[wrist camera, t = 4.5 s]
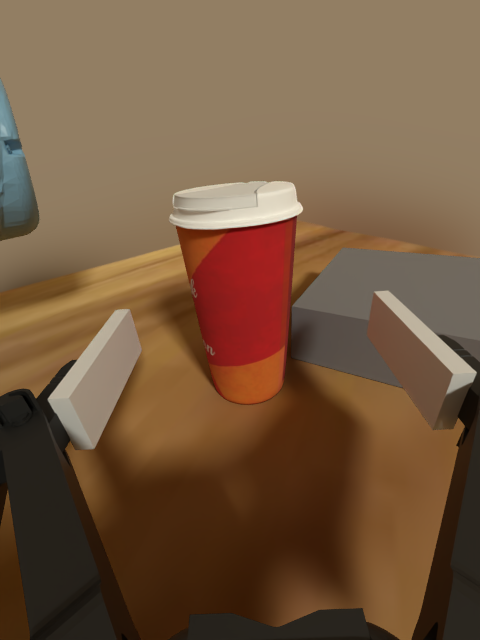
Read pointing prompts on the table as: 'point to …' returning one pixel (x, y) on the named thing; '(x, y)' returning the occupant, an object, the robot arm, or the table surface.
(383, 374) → the base block
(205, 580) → the table surface
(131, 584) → the table surface
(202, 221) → the paper cup
